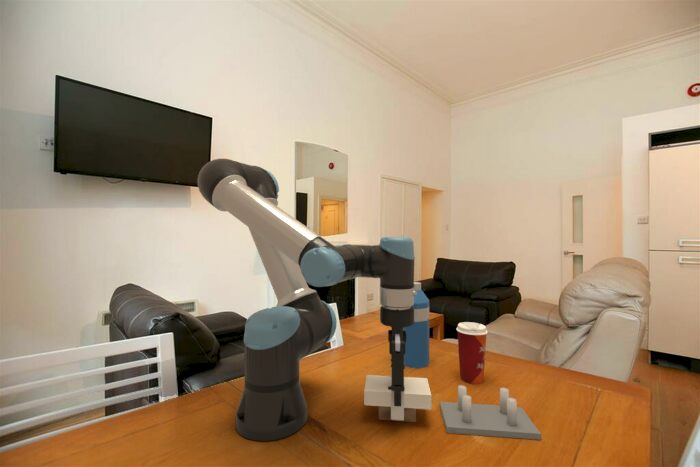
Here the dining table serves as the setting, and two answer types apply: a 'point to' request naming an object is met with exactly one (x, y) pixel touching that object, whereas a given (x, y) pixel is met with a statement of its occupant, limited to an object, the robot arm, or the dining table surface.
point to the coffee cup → (471, 351)
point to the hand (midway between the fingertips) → (397, 407)
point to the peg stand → (488, 417)
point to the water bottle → (418, 332)
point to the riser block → (408, 416)
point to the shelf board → (414, 392)
